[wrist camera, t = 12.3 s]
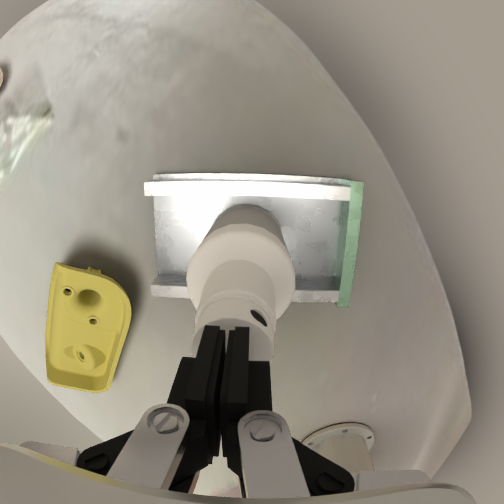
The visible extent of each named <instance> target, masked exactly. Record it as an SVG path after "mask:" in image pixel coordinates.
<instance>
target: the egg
mask: <svg viewBox="0 0 504 504" xmlns="http://www.w3.org/2000/svg"><path fill="white" fill-rule="evenodd" d="M2 82H3V72H2V70H1V68H0V87H1V85H2Z"/></svg>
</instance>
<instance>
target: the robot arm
mask: <svg viewBox="0 0 504 504" xmlns="http://www.w3.org/2000/svg"><path fill="white" fill-rule="evenodd" d="M249 333H250V327H238V326H235V330H229V336H228V343H227V350H226V340H225V330H220V326H215V325H205V326H204V330H203V333H202V337H201V340H200V344H199V347H198V351H197V355H196V358H192V357H182V359H181V362H180V365H179V368H178V371H177V374H176V377H175V380H174V383H173V386H172V389H171V392H170V395H169V398H168V401H167V403H166V404H158V405H155V406H153V407H151V408H149V409H148V410H147V411H146V412H145V413H144V414H143V416H142V418H141V419H140V421H139V423H138V424H137V426H136V428H135V429H134V430H132V431H130V432H127V433H125V434H123V435H120V436H118V437H115V438H113V439H110V440H108V441H105V442H103V443H101V444H98V445H95V446H93V447H90V448H88V449H86V450H84V451H83V452H82V451H79V450H78V449H77V448H71V447H63V446H56V445H50V444H44V443H38V442H30V441H29V442H25V443H22V444H21V445H20V446H17V445H13V444H9V443H2V442H0V504H477V502H476V501H475V499H474V498H473V496H472V495H471V494H470V493H469V492H468V491H467V490H465V489H464V488H462V487H460V486H457V485H453V484H448V483H439V482H431V480H430V478H429V476H428V475H427V474H426V473H424V472H422V471H419V470H401V471H375V469H374V466H373V463H372V460H371V457H370V453H369V450H370V449H371V448H372V446H373V444H374V439H375V438H374V434H373V432H372V430H371V429H370V428H369V427H367V426H365V425H362V424H358V423H344V424H338V425H333V426H330V427H327V428H324V429H321V430H319V431H317V432H315V433H313V434H312V435H310V436H309V437H307V438H306V439H305V440H304V441H303V442H302V443H300V442H299V441H297V440H296V439H294V438H293V437H291V434H290V431H289V428H288V424H287V423H286V421H285V419H284V418H283V417H282V416H280V415H279V414H277V413H275V412H272V396H271V379H270V363H269V361H249ZM221 437H222V450H223V457H227V464H228V468H230V469H231V470H232V471H233V472H234V473H235V474H237V475H238V481H239V487H240V494H241V498H230V497H216V496H205V495H196V494H193V491H194V489H195V486H196V483H197V480H198V478H199V473H200V470H201V469H203V468H205V467H206V466H208V464H212V459H213V456H217V457H218V456H219V449H220V440H221Z"/></svg>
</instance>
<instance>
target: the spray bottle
mask: <svg viewBox="0 0 504 504" xmlns="http://www.w3.org/2000/svg"><path fill="white" fill-rule="evenodd" d="M186 281H187V288H188V295H189V297H190V299H191V301H192V303H193V305H194V307H195V309H196V310H197V311H196V316H195V320H194V322H195V328H196V329H195V332H194V335H193V338H192V343H191V352H192V356H193V358H196V355H197V351H198V347H199V344H200V340H201V337H202V333H203V330H204V326H205V325H215V326H220V330H225V340H226V350H227V343H228V336H229V330H235V326H238V327H250V333H249V361H269V363H270V364H271V362H272V359H273V357H274V345H273V338H274V335H275V332H276V320H277V319H278V318H280V317H281V315H282V314H283V313H284V312H285V310H286V309H287V308H288V306H289V305H290V302H291V299H292V297H293V294H294V291H295V271H294V268H293V265H292V262H291V259H290V256H289V253H288V250H287V247H286V244H285V241H284V238H283V235H282V232H281V229H280V226H279V224H278V222H277V220H276V219H275V218H274V217H273V215H272V214H271V213H270V212H268V211H266V210H265V209H263V208H262V207H259V206H255V205H252V204H241V205H236V206H233V207H231V208H228V209H226V210H225V211H224V212H223V213H222V214H220V215H219V216H218V218H217V219H216V221H215V222H214V224H213V225H212V227H211V228H210V230H209V231H208V233H207V234H206V236H205V237H204V239H203V241H202V242H201V244H200V245H199V247H198V248H197V250H196V252H195V253H194V255H193V257H192V258H191V260H190V262H189V266H188V271H187V276H186Z"/></svg>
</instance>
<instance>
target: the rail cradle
mask: <svg viewBox="0 0 504 504" xmlns="http://www.w3.org/2000/svg"><path fill="white" fill-rule="evenodd" d="M363 186H364V182H361V181H357V180H348V179H341V178H329V177H315V176H299V175H279V174H249V173H172V174H153V180H152V181H148V182H144V195H145V196H154V221H155V240H156V255H157V268H158V276H157V277H156V279H155V280H154V281H153V282H152V284H151V294H152V296H158V297H173V298H190V297H189V295H188V288H187V281H186V276H187V271H188V266H189V262H190V260H191V258H192V257H193V255H194V253H195V252H196V250H197V248H198V247H199V245H200V244H201V242H202V241H203V239H204V237H205V236H206V234H207V233H208V231H209V230H210V228H211V227H212V225H213V224H214V222H215V221H216V219H217V218H218V216H219V215H220V214H222V213H223V212H224V211H225V210H226V209H228V208H231V207H233V206H236V205H241V204H252V205H255V206H259V207H262V208H263V209H265V210H266V211H268V212H270V213H271V214H272V215H273V217H274V218H275V219H276V220H277V222H278V224H279V226H280V229H281V232H282V235H283V238H284V241H285V244H286V247H287V250H288V253H289V256H290V259H291V262H292V265H293V268H294V271H295V291H294V294H293V297H292V299H291V302H335V304H336V306H337V307H349V302H350V296H351V290H352V283H353V277H354V270H355V263H356V255H357V247H358V239H359V230H360V221H361V210H362V199H363Z"/></svg>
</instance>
